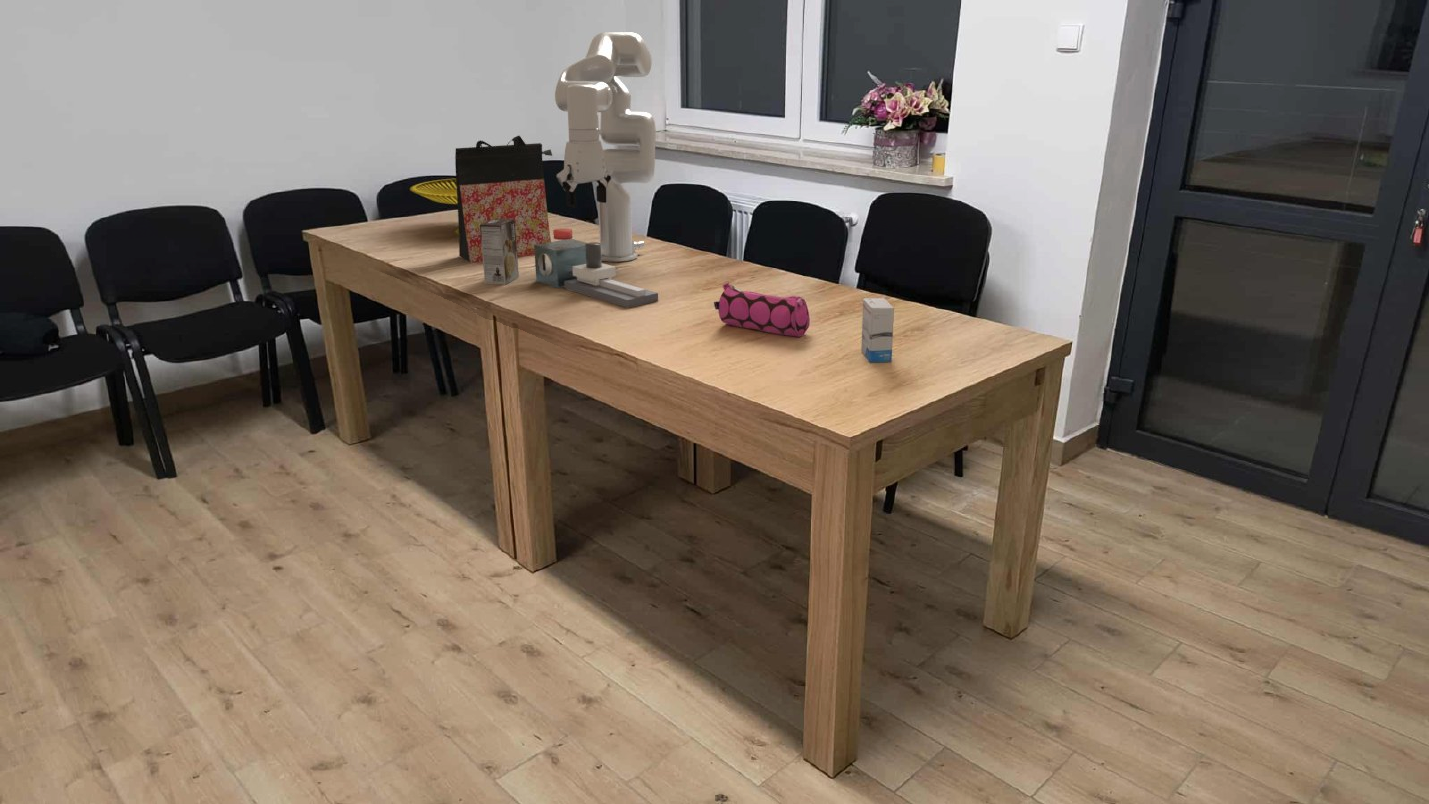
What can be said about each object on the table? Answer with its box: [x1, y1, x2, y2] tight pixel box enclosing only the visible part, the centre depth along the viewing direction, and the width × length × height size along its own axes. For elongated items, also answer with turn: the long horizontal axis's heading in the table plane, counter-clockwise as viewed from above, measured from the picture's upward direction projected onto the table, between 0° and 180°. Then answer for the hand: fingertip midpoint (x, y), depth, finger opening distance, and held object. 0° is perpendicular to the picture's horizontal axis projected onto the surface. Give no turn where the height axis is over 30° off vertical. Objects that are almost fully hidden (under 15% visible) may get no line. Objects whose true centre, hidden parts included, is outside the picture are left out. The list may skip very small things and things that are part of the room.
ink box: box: [860, 297, 895, 363], centre depth 206 cm, size 9×5×12 cm, turn 5°
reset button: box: [552, 228, 573, 241], centre depth 262 cm, size 5×5×2 cm
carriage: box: [572, 241, 617, 286], centre depth 255 cm, size 8×8×10 cm
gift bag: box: [454, 135, 553, 263], centre depth 290 cm, size 29×14×35 cm, turn 122°
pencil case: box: [713, 282, 811, 338], centre depth 224 cm, size 21×10×10 cm, turn 60°
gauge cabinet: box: [534, 238, 587, 289], centre depth 264 cm, size 13×10×10 cm
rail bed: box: [564, 278, 659, 309], centre depth 253 cm, size 10×26×4 cm, turn 44°
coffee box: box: [480, 219, 520, 285], centre depth 264 cm, size 9×6×16 cm
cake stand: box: [409, 178, 459, 235], centre depth 326 cm, size 40×40×15 cm
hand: (586, 204), depth 251 cm, fingers open, 9 cm apart
